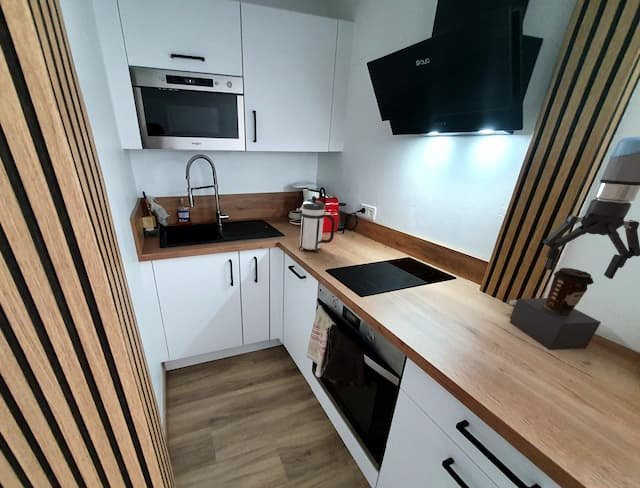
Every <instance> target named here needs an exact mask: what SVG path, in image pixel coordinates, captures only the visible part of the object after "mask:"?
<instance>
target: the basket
mask: <svg viewBox="0 0 640 488" xmlns="http://www.w3.org/2000/svg"><path fill="white" fill-rule="evenodd" d="M519 299H520V298H517V299H511V300H509V301H508V303H509V305H510V306H514V307H513V309H512V311H511V313H510V316H509V319H510V320H511V318H512V316H513V314H514V311H515V309H516V307H517V304H518V302H519Z"/></svg>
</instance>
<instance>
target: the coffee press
mask: <svg viewBox="0 0 640 488" xmlns="http://www.w3.org/2000/svg"><path fill="white" fill-rule="evenodd" d="M325 210H326V206H325V203H324V202H322V201H319V200H317V196H312V197H311V199H310V200H306V201H304V202H303V203H302V204H301V207H300V208H299V211H301V224H300V225H301V227H300V240H299V241H300V242H299V243H300V244H299V247H298V251H300V252H301V251H303V250H310V251H312V250H313V251H314V253H315V254H318V253H319V249H322V247H323V246H322V244H329V243H331V242H332V241H333V239H334V236H335V228H336V220H335V218H334V216H333V215H331V214H325ZM324 218H326V219H329V220H330V221H331V227H330V236H329V238H328V239H323V230H324Z"/></svg>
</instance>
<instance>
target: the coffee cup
mask: <svg viewBox="0 0 640 488" xmlns="http://www.w3.org/2000/svg"><path fill="white" fill-rule="evenodd" d="M594 283H595V281H594V278H593V277H592V275H591V273H588V272H587V271H584V270H580V269H576V268H571V267H561V268H559V270H556V271H555V272H554V273H553V279H552V282H551V285H550V288H549V291H548V294H547V297H546V298H547V300H546V303H545V304H544V307H546V308H547V309H549V310H551V311H553V312H556V313H561V314H570V313H571V312H572V310H573V308H574V309H575V307H576V306H577V305H578V304H579V303H580V301H581V299H582V298H583V296H584V295H585V294H586V293H587V291H588V286H590V285H592V284H594Z"/></svg>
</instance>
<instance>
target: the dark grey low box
mask: <svg viewBox="0 0 640 488" xmlns="http://www.w3.org/2000/svg"><path fill="white" fill-rule="evenodd" d="M518 299H519V302H518V304H517V307H516V309H515V311H514V314H513V316H512V318H511V319H510V321H509V323H510V324H511V325H512V326H514V327H515V328H517V329H518V330H520V331H521V332H523V333H524V334H526V335H527V336H529V337H530V338H532V339H533V340H534V341H536V342H537V343H539V344H540V345H542V346H543V347H544V348H546V349H548V350H550V351H552V350H555V351H556V350H577V349H587V348H588V346H589V344H590V342H591V341H592V339H593V337H594V335H595V334H596V332H597V330H598V328H599V327H600V325H601V323H602V322H601V321H600V320H598V319H595V318H593V317H592V316H590V315H588V314H586V313H584V312H582V311H580V310H578V309H576V308H575V307H574V308H573V310H572V312H571V313H570V314H561V313H556V312H553V311H551V310H549V309H547V308H546V307H544V304H545V303H546V300H547V297H535V298H534V297H533V298H530V297H529V298H518Z"/></svg>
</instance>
